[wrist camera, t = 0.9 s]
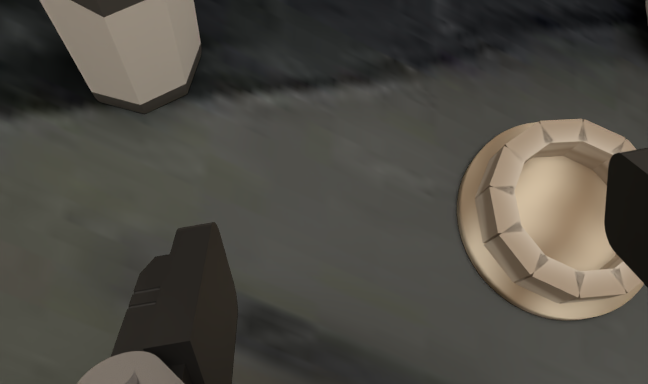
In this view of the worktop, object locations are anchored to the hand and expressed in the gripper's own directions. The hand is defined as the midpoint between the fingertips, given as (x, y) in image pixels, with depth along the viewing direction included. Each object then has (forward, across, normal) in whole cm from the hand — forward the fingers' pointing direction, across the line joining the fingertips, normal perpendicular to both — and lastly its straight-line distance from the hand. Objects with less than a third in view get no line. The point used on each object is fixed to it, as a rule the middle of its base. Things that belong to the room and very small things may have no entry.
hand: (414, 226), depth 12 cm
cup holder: (+22, -13, +15) cm, 30 cm away
